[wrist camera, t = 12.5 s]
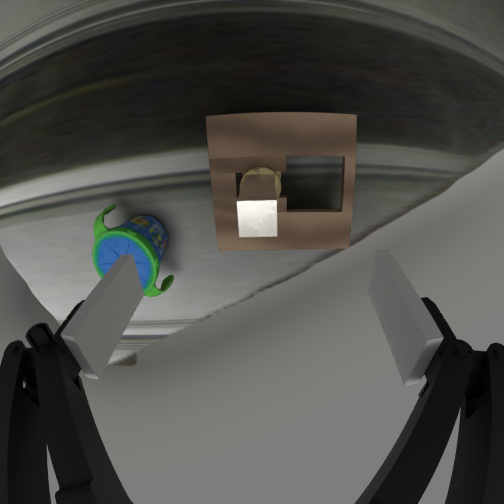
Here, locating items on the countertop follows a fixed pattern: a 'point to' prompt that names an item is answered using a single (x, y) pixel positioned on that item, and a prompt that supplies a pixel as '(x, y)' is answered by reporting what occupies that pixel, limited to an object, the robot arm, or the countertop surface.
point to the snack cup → (132, 248)
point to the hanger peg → (258, 202)
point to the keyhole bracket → (274, 156)
